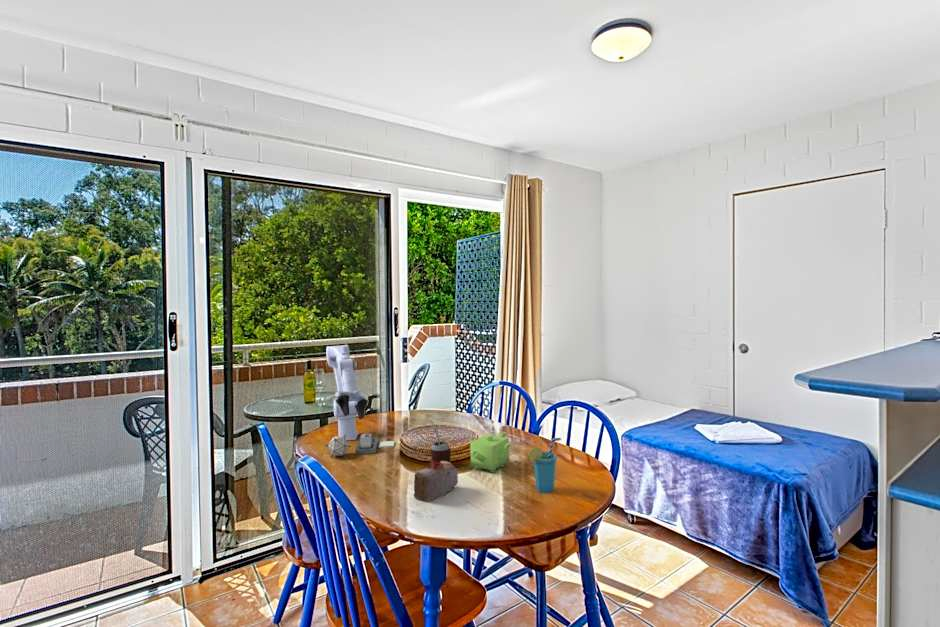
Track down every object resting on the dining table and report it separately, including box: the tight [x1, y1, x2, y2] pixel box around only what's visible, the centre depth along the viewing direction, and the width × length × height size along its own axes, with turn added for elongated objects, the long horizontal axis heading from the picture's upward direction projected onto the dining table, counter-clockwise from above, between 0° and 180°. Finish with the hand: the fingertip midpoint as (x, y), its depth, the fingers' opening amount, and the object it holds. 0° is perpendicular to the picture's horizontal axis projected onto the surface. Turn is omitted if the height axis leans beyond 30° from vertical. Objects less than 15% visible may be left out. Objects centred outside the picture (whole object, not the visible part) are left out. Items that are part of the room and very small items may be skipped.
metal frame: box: [354, 436, 380, 456], centre depth 197 cm, size 15×8×2 cm, turn 6°
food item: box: [413, 461, 459, 503], centre depth 152 cm, size 14×8×10 cm, turn 143°
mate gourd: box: [430, 420, 452, 463], centre depth 175 cm, size 8×8×15 cm
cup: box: [526, 437, 562, 494], centre depth 152 cm, size 14×8×15 cm, turn 132°
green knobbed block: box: [468, 431, 514, 473], centre depth 172 cm, size 15×14×11 cm
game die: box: [324, 434, 352, 458], centre depth 188 cm, size 9×8×10 cm
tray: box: [378, 440, 396, 449], centre depth 200 cm, size 6×6×1 cm
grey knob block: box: [359, 432, 373, 449], centre depth 194 cm, size 4×4×7 cm
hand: (354, 416), depth 190 cm, fingers open, 7 cm apart
